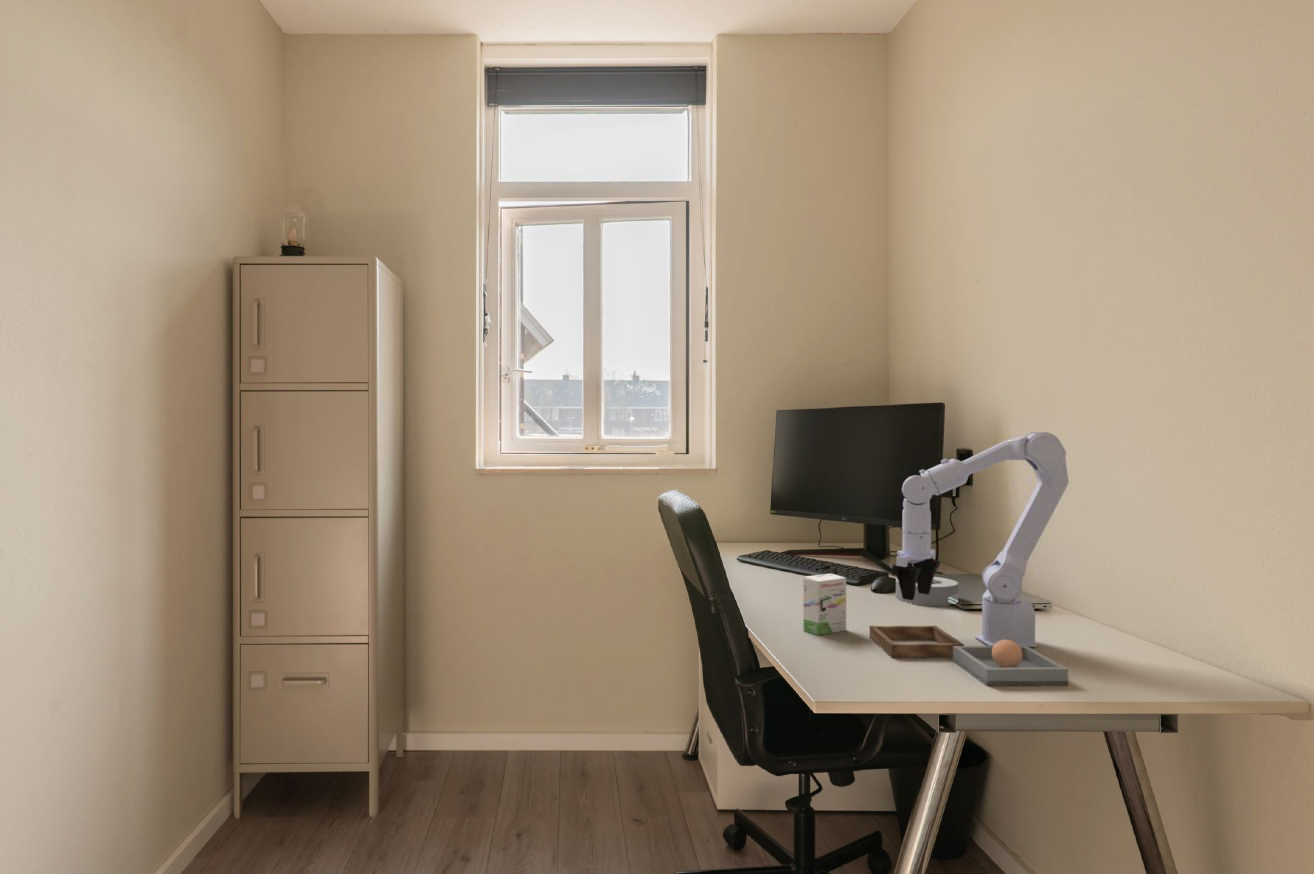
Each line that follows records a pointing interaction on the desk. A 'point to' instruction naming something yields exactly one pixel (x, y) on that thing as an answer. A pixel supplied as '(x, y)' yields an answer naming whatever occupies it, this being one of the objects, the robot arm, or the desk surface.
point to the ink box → (824, 603)
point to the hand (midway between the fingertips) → (916, 596)
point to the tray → (1026, 673)
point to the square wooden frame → (940, 649)
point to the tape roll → (932, 593)
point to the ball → (1007, 654)
